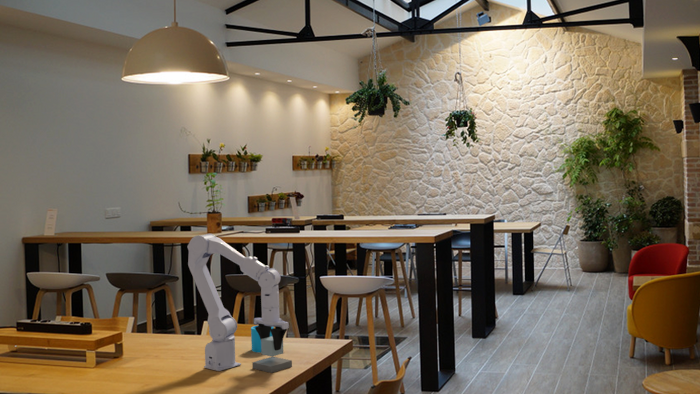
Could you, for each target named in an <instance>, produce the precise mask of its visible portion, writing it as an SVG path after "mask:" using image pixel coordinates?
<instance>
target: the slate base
mask: <svg viewBox="0 0 700 394" xmlns="http://www.w3.org/2000/svg"><path fill="white" fill-rule="evenodd" d="M251 363H252V364H251V365H252V369H254V370H258V371H261V372H266V373H270V374H273V373H276V372H278V371H283V370H285V369H289V368H292V367H293V361H292V359H286V358H283V357H276V356H273V357H271V356H268V357H266V358H263V359H260V360H259V359H258V360H256V361H253V362H251Z"/></svg>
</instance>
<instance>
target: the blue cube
mask: <svg viewBox="0 0 700 394" xmlns="http://www.w3.org/2000/svg"><path fill="white" fill-rule="evenodd" d="M260 353H261V355H263V356H267V357H276V356H280V355H283V354H284V340H283V341H282V345H281V349H280V350H275V349H274V342H273V336H272V337H267V338H263V339H261V352H260Z"/></svg>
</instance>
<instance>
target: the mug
mask: <svg viewBox="0 0 700 394" xmlns="http://www.w3.org/2000/svg"><path fill="white" fill-rule="evenodd" d="M258 326H259V324H257V325H253V326H251V327H250V337H251V339H250V340H251V351H252V352H253V353H261V339H260V336H259V334H258V332H257V331H256V329H255V327H258ZM273 328H275V327H271V329H273ZM270 337H272V333H271V331H270Z"/></svg>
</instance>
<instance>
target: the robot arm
mask: <svg viewBox="0 0 700 394" xmlns="http://www.w3.org/2000/svg"><path fill="white" fill-rule="evenodd" d="M187 250H188V256H187V257H188V262H187V265H188V268H189V271H190V273H191V275H192V278H193V280H194V283H195V286H196V287H197V290H198V292H199V294H200V297H201V299H202V302H203V305H204V307H205V309H206V311H207V313H208V316H207V325H208V333H209V336H210V337H211V339H212V340H211V341H210V342H207V344H206V345H205V346H204V364H205V365H204V366H203V368H205V369H209V370H213V371H216V372H221V371H224V370H228V369H231V368H235V367H238V366H241V365H242V363H241V362H237V361H236V338H235V333H236V331H237V330H238V322H237V320H236V319H235V318H234V317H232V315H231V313H230V311H229V310H228V309H227V308H225V307H224V305H223V302H222V299H221V298H220V295H219V293H218V291H217V288H216V286H215V283H214V281H213V278H212V276H211V273H210V271H209V268H208V266H207V263H208V261H209V258H210V256H211V255H213V254H214V255H215V254H217V255H221V256H223V257H224V258H226V259H228V260H230V261H231V262H233V263H235V264H236V265H237V266H239V268H240V271H241V272H242V273H243V274H245V275H246V276H248V277H249V278H250V279H253V280H254V281H256V282H257V283H258V284H257V285H259V287H260V289H261V291H260V299H261V300H260V301H261V302H260V303H261V304H260V305H261V317H254V318H253V325H254V326H258V325H259V326H258V327H255V329H256V331H257V332H258V334H259V336H260V339H263V338H267V337H270V331H271V333H272V336H273V342H274V349H275V350H280V349H281V345H282V341H283V342H284V337H285V334H286V333H287V331H288V329H289V328H290V325H289V321H285V320H283V319H282V318H280V315H281V314H280V292H279V291H280V290H279V283H280V282H281V278H282V277H281V274H280V272H279V271H278V269H276V268H274V267H271V268H270V266H269V265H265V264H264V263H262V262H261V261H259V260H258V257H256V256H252V255H251V256H244V255H243V254H242V253H240V252H239V251H237V249H235V248H234V247H232V246H231V245H230V244H228V243H226V242H225V241H224V240H222V238H220V237H219V236H218V237H217V236H216V235H215V234H213V233H205V234H201V235H195V236H193V237H192V238H191V239H190V241H189V242H188V244H187ZM271 327H274V328H273V329H271Z"/></svg>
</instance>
